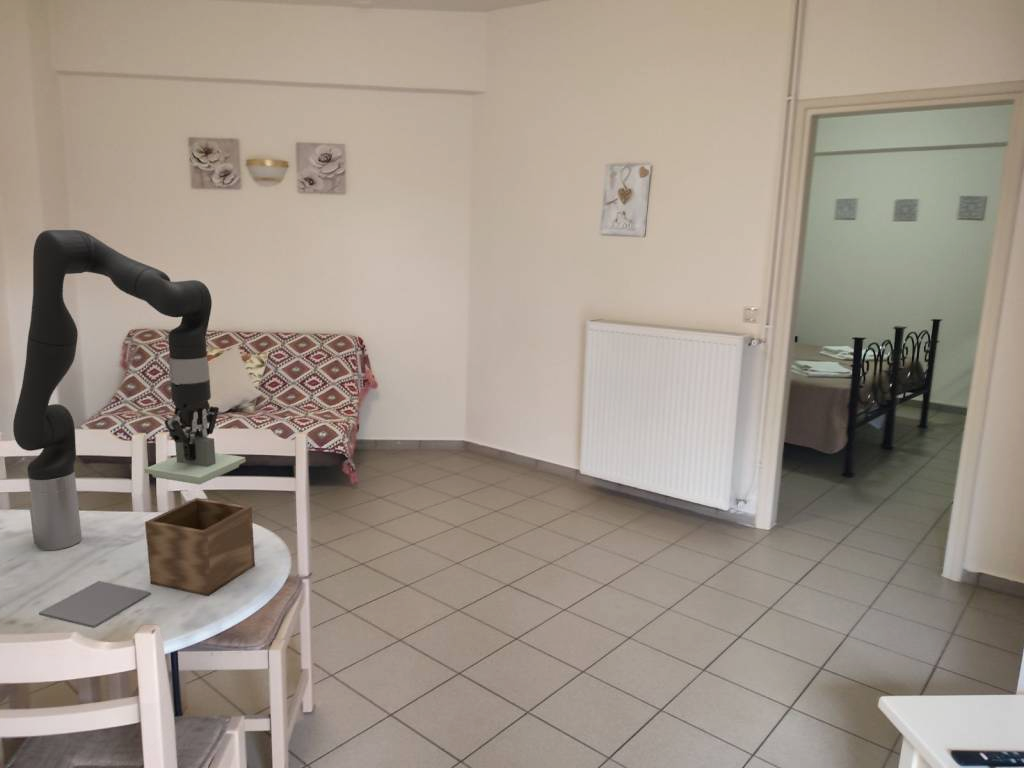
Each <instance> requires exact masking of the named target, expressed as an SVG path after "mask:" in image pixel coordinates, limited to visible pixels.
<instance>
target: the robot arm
mask: <svg viewBox="0 0 1024 768" xmlns="http://www.w3.org/2000/svg"><path fill="white" fill-rule="evenodd" d="M32 263H33V264H32V275H33V276H32V278H33V279H32V303H31V304H32V305H31V313H30V322H29V329H28V335H27V342H26V353H25V354H26V355H25V365H24V369H23V371H24V372H23V378H22V384H21V388H20V394H19V397H18V401H17V406H16V409H15V412H14V413H15V414H14V418H13V423H12V424H13V426H12V427H13V428H12V430H13V431H12V432H13V436H14V440H15V442H16V444H17V445H18V446H19V447H20V448H21V449H22V450H23V451H24V450H25V451H29V452H30V451H31V452H32V451H39V450H41V452H40V453H39V455H38V456H37V457H36V458H34V459H33V460H32V461H31V462H30V463H29V464H28V465H27V476H28V484H29V485H28V486H29V493H30V501H31V505H30V506H29V515H30V516H29V517H30V523H31V531H32V538H33V545H36V546H37V547H36V548H38V549H39V550H44V551H54V550H62V549H66V548H69V547H72V546H74V545H77V544H78V543H80V542H81V541H82V540H83V536H82V535H83V534H82V529H81V528H82V527H81V517H80V508H79V500H78V499H79V498H78V489H77V482H76V473H75V464H76V458H77V447H76V446H77V445H76V428H75V427H76V426H75V422H74V418H73V416H72V413H71V412H70V410H68V408H67V407H65V406H64V405H62V404H58V403H57V404H56V403H53V404H49V403H50V400H51V397H52V395H53V393H54V391H55V390H56V389H57V387H58V386H59V384H60V383H61V381H62V380H63V379H64V378H65V376H66V375H67V373H68V372H69V370H70V369H71V367H72V365H73V363H74V360H75V356H76V351H77V343H78V336H79V335H78V334H79V332H78V328H77V325H76V323H75V320H74V318H73V316H72V315H71V313H70V312H69V310H68V307H67V306H66V303H65V300H64V283H65V282H64V281H65V276H66V275H71V274H72V275H73V274H74V275H75V274H83V273H92V274H98V275H102V276H105V277H107V278H109V279H110V281H111V282H112V283H113V285H114V286H115V287H116V288H117V289H118V290H120V291H121V292H123V293H125V294H127V295H130V296H131V297H134V298H136V299H139V300H142V301H144V302H146V303H147V304H148V305H149V306H150V307H152V309H154V310H155V311H157V312H158V313H160V314H161V315H163V316H166V317H171V318H181V321H180V324H179V325H178V326H177V327H175V328H173V329H171V330H170V331H169V333H168V348H169V351H168V352H169V370H168V371H169V380H170V381H169V382H170V396H171V401H172V402H173V403H174V406H175V409H174V413H173V414H174V415H173V416H172V417H171V418H169V419H168V418H167V419H165V420H164V425H165V427H166V428H167V431H168V432H169V434H170V436H171V438H172V439H173V441H174V443H175V442H177V443H182V444H183V449H184V457H185V459H186V460H188V461H194V460H196V454H195V444H194V436H199V437H206V438H208V436H209V435H212V434H214V433H213V432H214V429H215V426H216V421H217V418H218V414H219V410H220V408H219V407H217V406H212V405H210V403H209V400H211V398H212V397H211V396H212V394H211V393H212V391H211V377H210V366H209V362H208V361H209V360H208V355H207V353H208V351H207V340H206V339H207V338H206V336H207V332H208V327H209V322H210V317H211V312H212V306H213V301H212V296H211V292H210V290H209V289H208V286H207V285H206V284H205V283H204V282H202V281H200V280H195V279H191V280H190V279H189V280H182V281H171V279H170V276H168V274H166V273H165V272H163V271H162V270H159V269H158V268H156V267H152V266H150V265H148V264H145V263H142V262H139V261H137V260H135V259H132V258H130V257H128V256H126V255H124V254H122V253H120V252H119V251H117V250H115V249H114V248H112V247H110V246H109V245H107V244H106V243H105V242H103V241H101V240H100V239H98V238H96V236H93V235H92V234H90V233H87V232H85V231H82V230H78V229H49V230H44V231H41V233H39V234H38V235H37V237H36V239H35V242H34V245H33V256H32ZM208 424H209V425H208ZM187 435H188V438H187Z"/></svg>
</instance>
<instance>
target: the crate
mask: <svg viewBox="0 0 1024 768" xmlns="http://www.w3.org/2000/svg"><path fill="white" fill-rule="evenodd" d="M144 525H145V536H146V546H147V556H148V557H147V558H148V568H149V580H150V584H151V585H156V586H159V587H165V588H170V589H175V590H178V591H184V592H188V593H192V594H197V595H203V596H206V597H207V596H208V597H209V596H211V595H213V594H214V593H216V592H217V591H218V590H220V589H221V588H223V587H224V586H226V585H227V584H229V583H231V582H232V581H233V580H235V579H237V578H238V577H240V576H241V575H243V574H244V573H246V572H247V571H249V570H250V569H252V568H253V567H254V566H256V562H255V560H256V559H255V546H254V545H255V544H254V529H253V526H254V525H253V511H252V506H249V505H248V506H247V505H243V504H242V505H241V504H236V503H230V502H224V501H217V500H211V499H208V500H206V499H200V498H195V499H193V500H191V501H189V502H187V503H184V504H182V503H181V504H180V505H178V506H177V507H174V508H172V509H170V510H168V511H166V512H164V513H161V514H159V515H157V516H156V517H153V518H151V519H148V520H147V521H145V522H144Z"/></svg>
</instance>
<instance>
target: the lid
mask: <svg viewBox="0 0 1024 768" xmlns="http://www.w3.org/2000/svg"><path fill="white" fill-rule="evenodd" d="M188 435H189V434H187V438H188ZM174 443H175V455H176V456H173V457H171V458H168V459H166V460H164V461H161V462H158V463H155V464H153V465H150V466H147V467H145V468H144V474H146V475H147V474H148V475H152V478H155V479H165V480H168V481H170V480H171V481H174V482H175V481H176V482H181V483H182V482H183V483H189V484H194V485H199V486H200V485H202V484H204V483H206V482H209V481H211V480H214V479H215V478H218V477H220V476H222V475H225V474H227V473H229V472H231V471H233V470H235V469H237V468H239V467H240V465H241V464H243V463H245V462H246V457H245V456H240V455H239V456H238V455H233V454H232V455H231V454H225V453H218V452H216V450H215V449H216V448H215V438H213V437H207V438H206V437H199V436H194V444H195V454H196V460H194V461H188V460H186V459H185V457H184V449H183V444H182V443H177V442H175V441H174Z"/></svg>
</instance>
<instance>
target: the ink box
mask: <svg viewBox="0 0 1024 768" xmlns="http://www.w3.org/2000/svg"><path fill="white" fill-rule="evenodd" d="M195 498H200V499H206V500H209V498H208V496H207V495H206V493H205V492H204V490H203V489H202V487H196V488H190V489H184V490H180V499H181V505H182V504H184V503H187V502H189V501H191V500H193V499H195Z"/></svg>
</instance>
